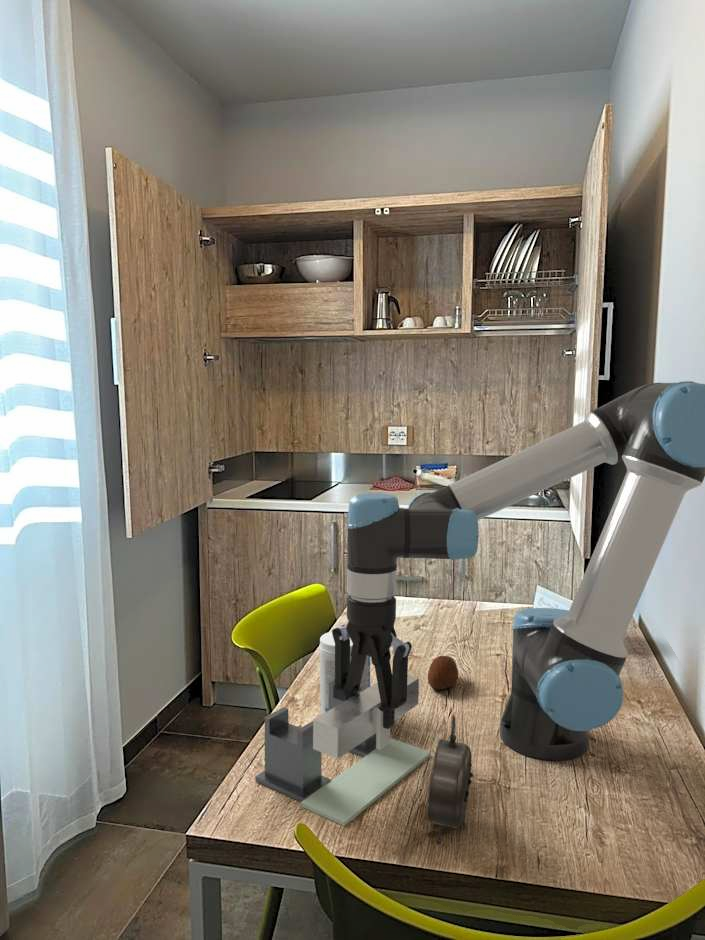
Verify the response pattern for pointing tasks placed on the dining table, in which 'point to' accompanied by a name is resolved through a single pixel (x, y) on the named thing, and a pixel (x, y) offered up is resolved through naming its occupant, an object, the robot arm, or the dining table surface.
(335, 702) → the post right
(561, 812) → the dining table surface
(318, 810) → the mat
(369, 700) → the rail
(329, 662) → the supplement tub
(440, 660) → the potato
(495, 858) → the dining table surface
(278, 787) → the post left
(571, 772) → the dining table surface
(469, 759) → the alarm clock
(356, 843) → the dining table surface
